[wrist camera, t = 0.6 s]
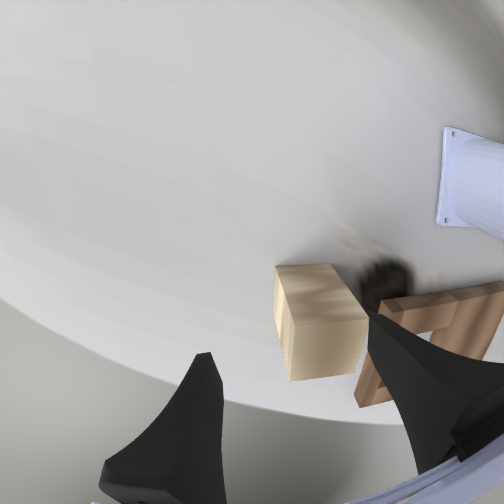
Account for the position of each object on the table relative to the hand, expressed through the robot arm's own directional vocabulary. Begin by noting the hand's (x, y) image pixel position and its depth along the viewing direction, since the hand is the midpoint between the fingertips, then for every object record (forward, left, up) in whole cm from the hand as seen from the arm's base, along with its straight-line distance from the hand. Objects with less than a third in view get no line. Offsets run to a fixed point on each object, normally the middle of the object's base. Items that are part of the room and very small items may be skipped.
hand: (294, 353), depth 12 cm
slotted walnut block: (-18, +9, -9) cm, 22 cm away
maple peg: (-2, +2, -9) cm, 9 cm away
